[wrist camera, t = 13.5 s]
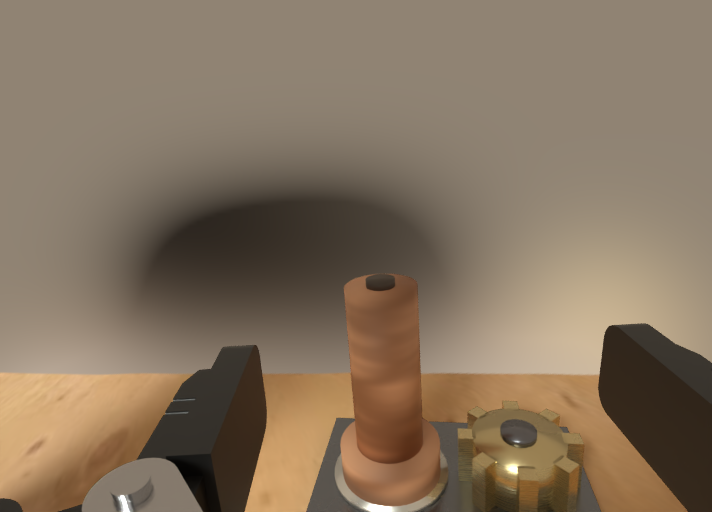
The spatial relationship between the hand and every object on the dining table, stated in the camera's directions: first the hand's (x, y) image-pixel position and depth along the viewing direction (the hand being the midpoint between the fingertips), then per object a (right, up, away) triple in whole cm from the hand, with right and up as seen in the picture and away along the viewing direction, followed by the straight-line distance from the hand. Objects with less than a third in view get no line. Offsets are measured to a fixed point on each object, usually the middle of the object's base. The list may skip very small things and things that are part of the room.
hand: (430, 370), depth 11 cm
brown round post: (0, -10, +18) cm, 21 cm away
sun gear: (+8, -11, +17) cm, 22 cm away
